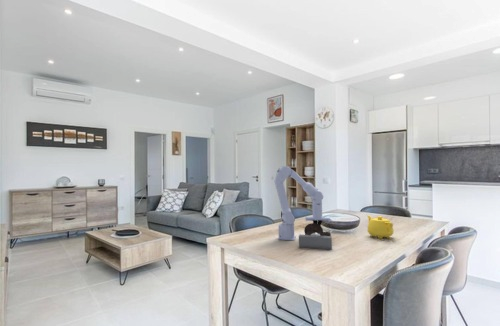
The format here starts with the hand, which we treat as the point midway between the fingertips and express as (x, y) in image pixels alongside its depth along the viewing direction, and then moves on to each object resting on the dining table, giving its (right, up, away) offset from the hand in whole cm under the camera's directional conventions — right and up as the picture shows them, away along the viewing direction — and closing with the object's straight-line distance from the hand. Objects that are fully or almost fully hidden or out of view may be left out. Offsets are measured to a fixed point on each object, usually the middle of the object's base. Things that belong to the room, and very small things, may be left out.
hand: (317, 232), depth 169 cm
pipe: (-3, -3, -9) cm, 10 cm away
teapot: (+38, -3, 0) cm, 38 cm away
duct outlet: (-7, -3, -21) cm, 22 cm away
